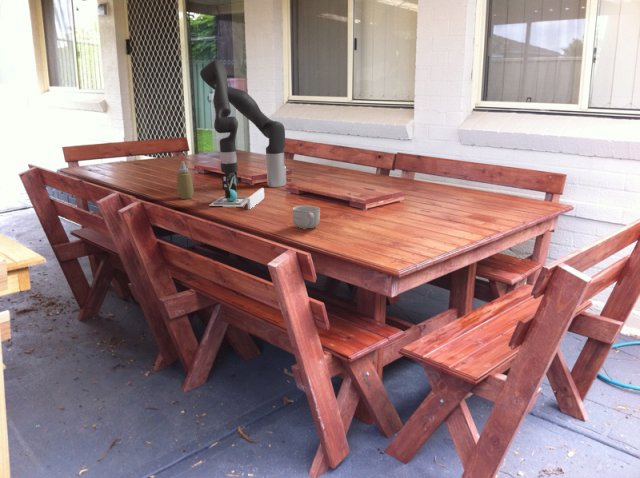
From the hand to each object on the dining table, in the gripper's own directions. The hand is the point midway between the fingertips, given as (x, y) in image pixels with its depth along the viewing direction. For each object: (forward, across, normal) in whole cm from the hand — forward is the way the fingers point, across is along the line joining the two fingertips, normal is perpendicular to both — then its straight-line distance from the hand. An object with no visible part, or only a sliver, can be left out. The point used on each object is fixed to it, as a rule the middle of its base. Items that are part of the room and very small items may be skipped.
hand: (231, 196), depth 278 cm
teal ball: (0, 0, 0) cm, 0 cm away
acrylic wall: (+3, 0, +12) cm, 12 cm away
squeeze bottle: (+3, -8, -26) cm, 27 cm away
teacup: (+4, +38, +44) cm, 59 cm away
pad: (+3, 0, 0) cm, 3 cm away
